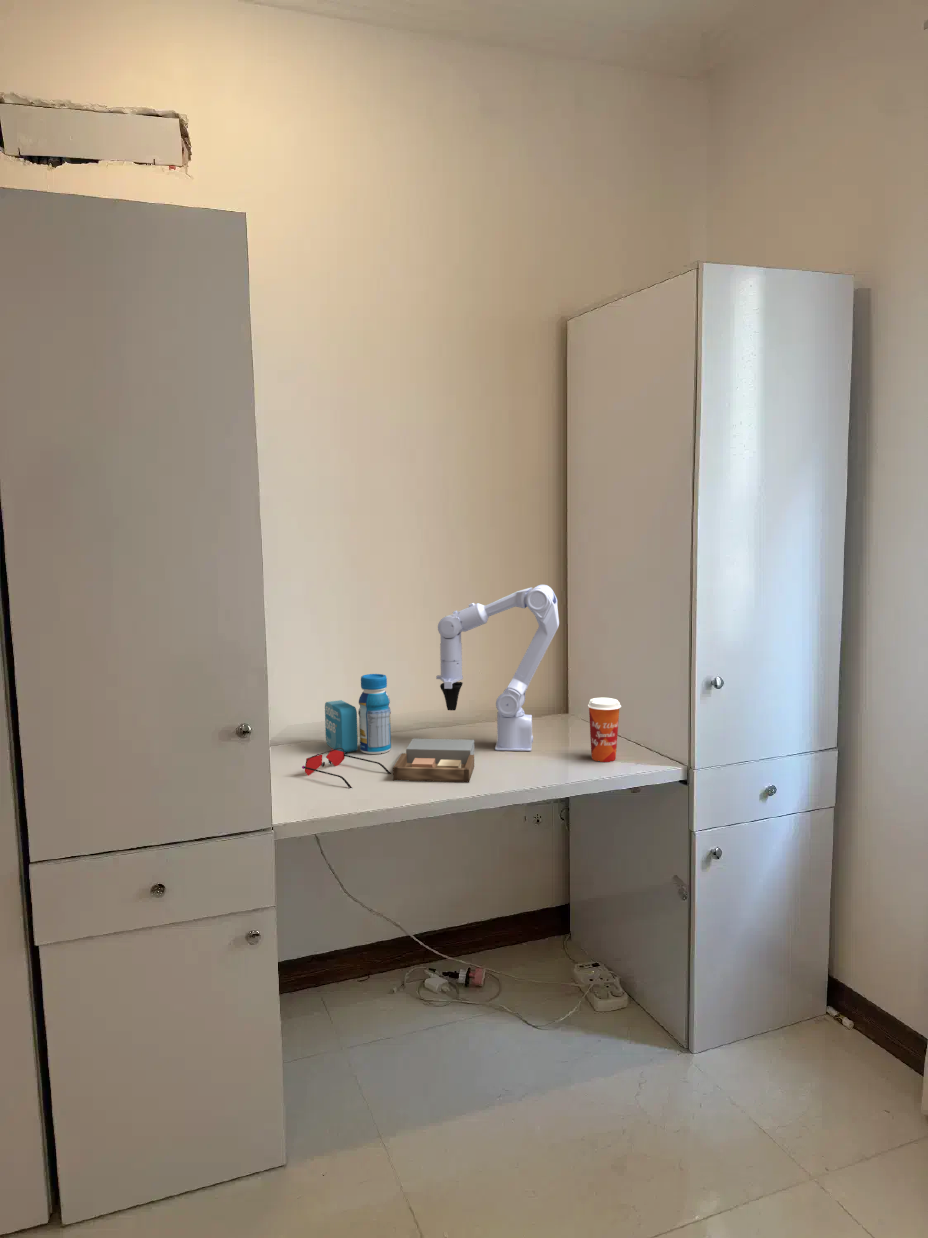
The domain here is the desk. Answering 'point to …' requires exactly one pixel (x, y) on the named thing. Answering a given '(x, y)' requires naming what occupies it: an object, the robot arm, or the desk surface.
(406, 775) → the walnut box
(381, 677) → the beverage bottle
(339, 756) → the glasses
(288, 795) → the desk surface
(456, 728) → the desk surface
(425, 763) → the terracotta tile
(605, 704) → the coffee cup
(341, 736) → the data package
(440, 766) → the ash tile
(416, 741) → the slate slab
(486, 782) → the desk surface
